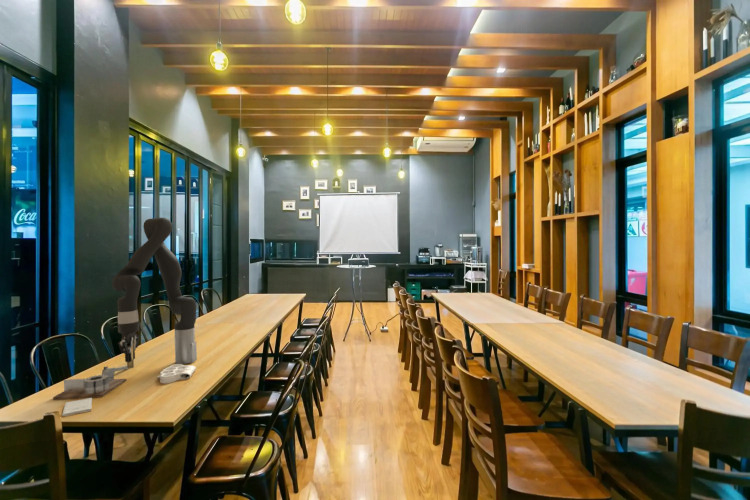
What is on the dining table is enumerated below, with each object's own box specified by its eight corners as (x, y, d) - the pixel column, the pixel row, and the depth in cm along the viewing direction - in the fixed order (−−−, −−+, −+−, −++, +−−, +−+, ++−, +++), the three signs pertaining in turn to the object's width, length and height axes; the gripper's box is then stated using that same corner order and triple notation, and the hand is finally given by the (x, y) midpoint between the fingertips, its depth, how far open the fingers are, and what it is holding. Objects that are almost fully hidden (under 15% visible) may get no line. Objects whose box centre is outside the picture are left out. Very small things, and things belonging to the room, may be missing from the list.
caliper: (104, 381, 170) (103, 367, 170) (101, 382, 170) (101, 367, 170) (133, 367, 191) (133, 354, 191) (131, 367, 191) (131, 354, 191)
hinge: (122, 379, 169) (122, 368, 169) (101, 393, 153) (100, 381, 153) (83, 381, 168) (83, 370, 167) (57, 395, 152) (57, 383, 152)
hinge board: (126, 380, 170) (126, 378, 170) (102, 396, 153) (102, 394, 153) (82, 383, 168) (82, 380, 168) (53, 399, 151) (53, 397, 151)
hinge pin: (134, 366, 167) (133, 339, 167) (132, 368, 165) (130, 340, 165) (129, 366, 167) (127, 339, 167) (126, 368, 165) (124, 341, 164)
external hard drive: (92, 401, 150) (91, 412, 140) (65, 406, 145) (62, 418, 135) (92, 397, 150) (90, 408, 140) (65, 402, 145) (62, 414, 135)
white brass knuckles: (188, 382, 169) (151, 385, 165) (197, 369, 186) (164, 372, 183) (188, 374, 169) (151, 377, 165) (197, 362, 186) (164, 365, 183)
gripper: (129, 324, 159) (131, 365, 160) (145, 317, 173) (147, 355, 173) (109, 325, 158) (111, 366, 159) (127, 318, 172) (129, 356, 172)
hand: (130, 360), depth 166 cm, fingers closed on hinge pin, 2 cm apart
